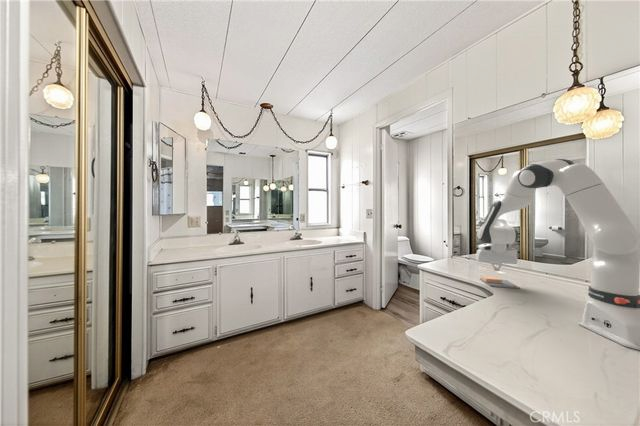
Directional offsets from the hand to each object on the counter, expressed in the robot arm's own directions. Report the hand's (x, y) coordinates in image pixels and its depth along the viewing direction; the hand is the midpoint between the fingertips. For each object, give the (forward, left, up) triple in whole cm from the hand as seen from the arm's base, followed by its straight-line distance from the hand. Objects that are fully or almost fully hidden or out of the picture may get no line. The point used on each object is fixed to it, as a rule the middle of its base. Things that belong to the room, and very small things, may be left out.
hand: (495, 270), depth 139 cm
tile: (0, -2, -6) cm, 6 cm away
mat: (-2, -1, -7) cm, 7 cm away
